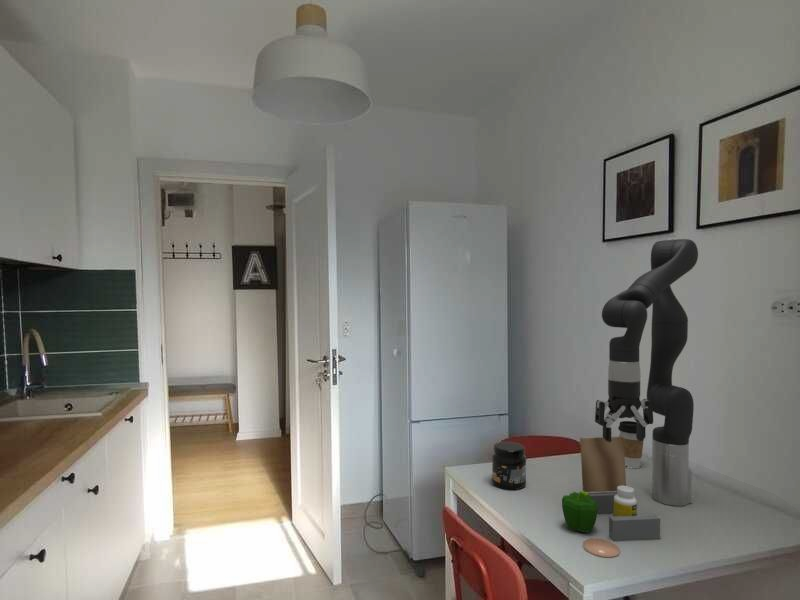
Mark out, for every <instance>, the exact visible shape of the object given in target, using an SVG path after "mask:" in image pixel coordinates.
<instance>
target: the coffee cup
mask: <svg viewBox="0 0 800 600" xmlns="http://www.w3.org/2000/svg"><path fill="white" fill-rule="evenodd" d="M636 425H638V423H637V422H636V421H633V420H622V421H619V425H618V427H617V428H618V431H619V435H618V437H623V441H624V457H625V466H627V467H632V468H638V467H640V466H642V456H643V449H644V441H639V440H637V438H636ZM627 467H626V468H627ZM632 468H631V469H632ZM640 468H641V467H640ZM638 469H639V468H638Z"/></svg>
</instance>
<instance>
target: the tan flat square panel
mask: <svg viewBox="0 0 800 600" xmlns="http://www.w3.org/2000/svg"><path fill="white" fill-rule="evenodd" d="M579 444H580V447H579V448H580V461H581V462H580V463H581V464H580V465H581V480H582V491H584V492H587V493H599V492H617V487H618V486H627V476H626V475H627V474H626V473H627V472H626V467H625V457H624V441H623V437H619V436H611V442H607V441H606V440H605V439H604V438H603V436H602V437H601V436H600V437H599V436H598V437H597V436H596V437H579Z"/></svg>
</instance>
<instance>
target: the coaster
mask: <svg viewBox="0 0 800 600" xmlns="http://www.w3.org/2000/svg"><path fill="white" fill-rule="evenodd" d="M582 547H583V549H584V550H585V551H586V552H588V553H589V554H591V555H593V556H595V557H599V558H605V559H608V558H609V559H611V558H616V557H618V556H619V555H620V553H621V549H620V547H619V545H617V544H616V543H614V541H610V540H608V539H604V538H598V537H590V538H586V539H584V540H583V542H582Z"/></svg>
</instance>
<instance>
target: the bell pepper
mask: <svg viewBox="0 0 800 600" xmlns="http://www.w3.org/2000/svg"><path fill="white" fill-rule="evenodd" d="M588 493H589V492H584V491H583V490H582V491H579V493H578V492H576V491H574V492H573V491H572V492H571V493H569V495H566V494H565V495H562V498H561V508H562V513H563V518H564V522H565V524H566V526H567V527H568V528H569V529H570V530H571V531H579V532H581V533H590V532H591V531H593V529H594V528H595V525H596V522H597V517H598V514H597V512H598V506H597V504H596V502H595V500H592V498H591V497H590V495H589V494H588Z"/></svg>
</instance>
